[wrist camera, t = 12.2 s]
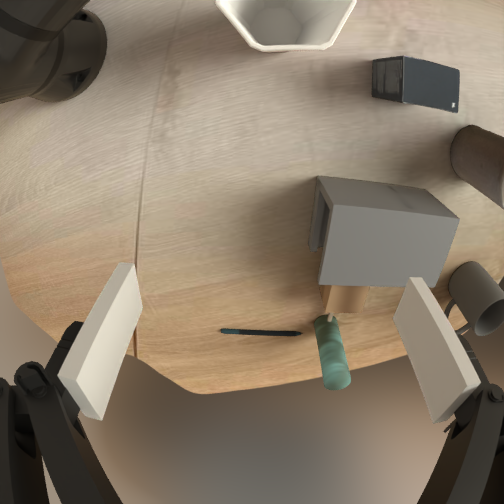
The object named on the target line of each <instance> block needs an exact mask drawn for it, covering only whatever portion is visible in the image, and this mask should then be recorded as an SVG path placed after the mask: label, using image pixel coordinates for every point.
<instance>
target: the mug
mask: <svg viewBox="0 0 504 504" xmlns="http://www.w3.org/2000/svg"><path fill="white" fill-rule="evenodd" d="M449 292H450V295H451V296H452V298H453V299H452V300H451V301H450V302H449V303H448V305H447V307H446V309H445V312H444V314H445V316H446V317H447V319H448V316H449V313H450V310H451V308H452V307H453V305H454V304H457V306H458V308H459V309H460V311H461V312H462V314H463V315H464V317H465V319H466V320H467V322H468V323H467V324H466V325H464V326H463V327H461V328H460V329H458V330H454V331H455V333H456V334H462V333H463V332H465V331H466V330H468V329H469V328H470V327H471V328H472V329H473V331H474V332H475V333H476V334H477V335H479V336H484V335H487V334H489V333H491V332H493V331H495V330H496V329H497V328H498V327H499V326H500V325H501V324H502V323H503V322H504V292H503V291H502V289H501V288H500V287H499V285H498V284H497V283H496V282H495V281H494V279H493V278H492V277H491V276H490V275H489V274H488V272H487V271H486V270H485V269H484V268H483V267H482V266H481V265H480V264H479V263H477V262H473V261H471V262H467V263H465V264H463V265H461V266H460V267H459V268H458V269H457V270H456V271H455V272H454V274H453V275H452V277H451V279H450V281H449Z"/></svg>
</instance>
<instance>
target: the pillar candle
mask: <svg viewBox="0 0 504 504" xmlns="http://www.w3.org/2000/svg"><path fill="white" fill-rule="evenodd" d="M451 163H452V166H453V169H454V171H455V172H456V174H457V175H458V176H459V177H460V178H462V179H463V180H465V181H466V182H467V183H469V184H470V185H472V186H473V187H474V188H476V189H477V190H478V191H480V192H481V193H483V194H484V195H485V196H487V197H488V198H490V199H491V200H492V201H493V202H495V203H496V204H497V205H499V206H500V207H501V208H502V209H504V137H502V136H499V135H497V134H494V133H492V132H490V131H487V130H484V129H482V128H480V127H478V126H475V125H469V126H468V127H465V128H463V129H461V130H460V131H459V132H458V134H457V135H456V136H455V138H454V141H453V143H452V146H451Z"/></svg>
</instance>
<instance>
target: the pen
mask: <svg viewBox="0 0 504 504" xmlns="http://www.w3.org/2000/svg"><path fill="white" fill-rule="evenodd" d="M221 333H224V334H242V335H266V336H297V335H301V334H302V333H300V332H296V331H265V330H241V329H221Z"/></svg>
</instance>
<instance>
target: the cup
mask: <svg viewBox="0 0 504 504" xmlns="http://www.w3.org/2000/svg"><path fill="white" fill-rule="evenodd" d="M355 4H356V0H215V5H216V6H217V7H218V9H219V10H220V11H221V12H222V13H223V14H224V15H225V17H226V18H227V19H228V20H229V21H230V23H231V24H232V25H233V26H234V27H235V29H236V30H237V31H238V32H239V33H240V35H241V36H242V37H243V38H244V40H245V41H246V42H247V43H248V45H249V46H250V47H252V48H254V49H257V50H259V51H262V52H287V51H310V50H324V49H326V48H328V47H330V46H332V44H333V43H334V41H335V39H336V37H337V36H338V34H339V32H340V30H341V29H342V27H343V25H344V23H345V21H346V20H347V18H348V16H349V15H350V13H351V11H352V9H353V8H354V6H355Z"/></svg>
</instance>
